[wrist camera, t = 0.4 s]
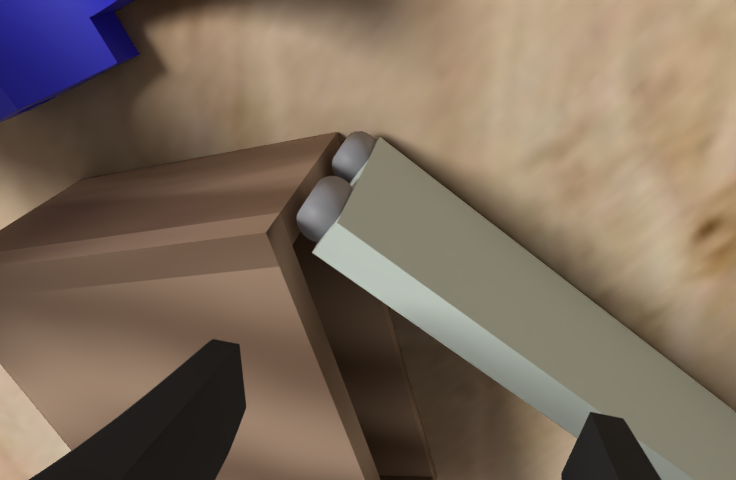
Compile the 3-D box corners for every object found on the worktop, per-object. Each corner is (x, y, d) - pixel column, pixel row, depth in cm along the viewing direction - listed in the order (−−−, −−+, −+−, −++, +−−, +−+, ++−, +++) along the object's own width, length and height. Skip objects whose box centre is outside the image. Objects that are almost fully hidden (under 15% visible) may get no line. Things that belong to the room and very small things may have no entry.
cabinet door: (749, 422, 21) (833, 580, 16) (721, 434, 21) (794, 589, 16) (358, 120, 17) (306, 201, 12) (339, 145, 18) (283, 232, 13)
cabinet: (436, 477, 27) (424, 627, 21) (249, 472, 31) (194, 600, 25) (337, 132, 18) (265, 232, 12) (80, 179, 21) (-73, 275, 15)
